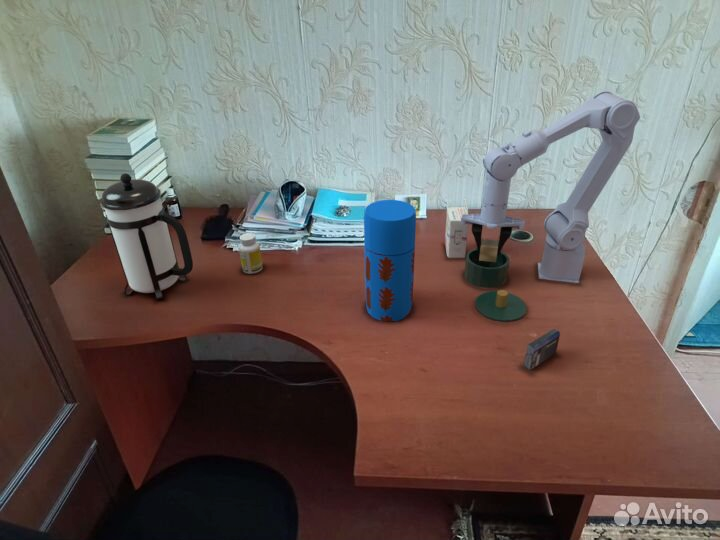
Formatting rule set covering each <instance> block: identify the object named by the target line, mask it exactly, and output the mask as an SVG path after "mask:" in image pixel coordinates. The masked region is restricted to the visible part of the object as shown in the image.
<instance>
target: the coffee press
mask: <svg viewBox="0 0 720 540" xmlns="http://www.w3.org/2000/svg"><path fill="white" fill-rule="evenodd" d="M119 180H120V181H118V182H115V183H113V184H111V185H109V186H108V187H106V188H105V189H104V190H103V191H102V193H101V198H100V200H99V203H100V205H101V207H102V208H103V209H104V212H105V218H106V222H107V224H108V228H109V230H110V234H111V237H112V240H113V243H114V246H115V249H116V252H117V256H118V259H119V262H120V265H121V268H122V272H123V274H124V278H125V281H126V285H125V286H124V290H123V291H124V294H125V295H126V296H130V295H132V293H133V292H134V291H135V292H136V293H137V292H138V293H142V294H150V293H155V297H156V300H157V302H160V301H162V300H163V301H164V298H163V294H162V291H164V290H166V289H168V288H170V287H172V286H173V285H174V284H175V283H176V282H177V281H181V282H185V281H187V275H188V274H190V273H191V272H192V271H193V268H194V262H193V257H192V252H191V248H190V244H189V239H188V236H187V232H186V230H185V228H184V226H183V224H182V223H181V222H180V221H179V219H178V218H176V217H174V216H173V215H171V214H167V213H166V212H165V211H166V210H165V208H164V207H165V206H164V205H163V203H162V199H161V197H162V192H161V189H160V188H159V187H157V186H156V185H155V183H153V182H151V181H149V180H146V179H140V178H139V179H137V178H136V179H133V178H132V176H131V175H130V174H129V173H125V172H124V173H122V174H121V175H120V178H119ZM169 225H170V226H171V227H172V228H173V229H174V230H175V232H176V235H177V238H178V243H179V246H180V247H179V248H180V251H181V255H182V258H183V265H184V266H183V267H182V268H181V267H180V266H179V262H178V258H177V255H176V251H175V247H174V242H173V239H172V235H171V230H170V227H169ZM128 287H130V290H129V291H127V290H128Z"/></svg>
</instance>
